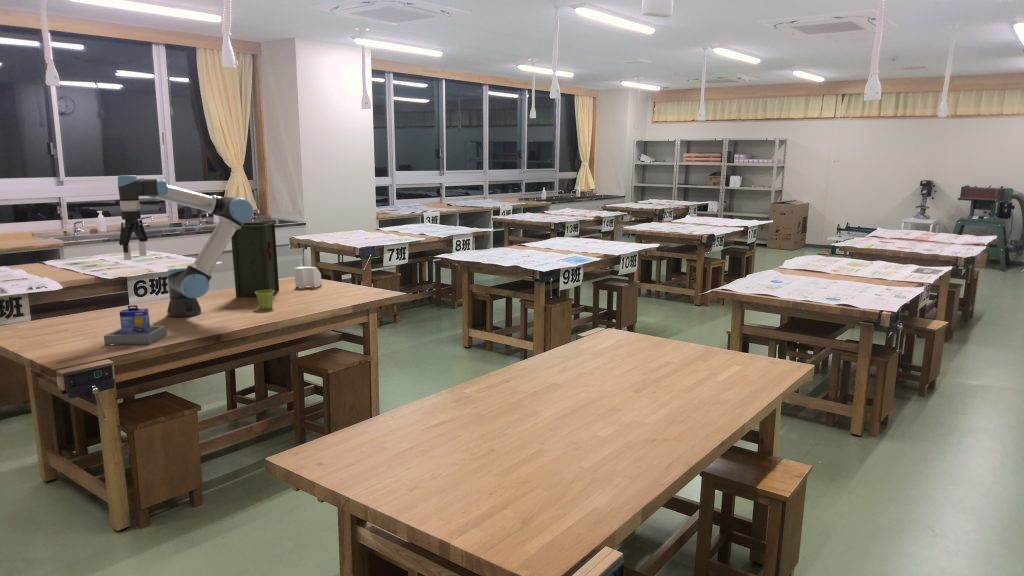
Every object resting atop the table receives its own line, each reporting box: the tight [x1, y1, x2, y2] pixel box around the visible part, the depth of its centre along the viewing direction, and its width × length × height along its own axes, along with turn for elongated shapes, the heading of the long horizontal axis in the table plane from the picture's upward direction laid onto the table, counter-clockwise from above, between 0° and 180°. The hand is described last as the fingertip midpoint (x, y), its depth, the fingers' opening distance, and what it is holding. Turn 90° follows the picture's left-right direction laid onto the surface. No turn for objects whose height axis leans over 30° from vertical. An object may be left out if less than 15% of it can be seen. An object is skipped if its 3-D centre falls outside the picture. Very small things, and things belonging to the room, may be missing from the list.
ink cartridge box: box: [119, 304, 151, 335], centre depth 281 cm, size 10×6×14 cm, turn 104°
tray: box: [103, 325, 168, 346], centre depth 283 cm, size 16×18×4 cm
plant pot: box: [255, 290, 275, 310], centre depth 344 cm, size 9×9×9 cm
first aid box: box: [230, 222, 280, 298], centre depth 377 cm, size 18×18×40 cm
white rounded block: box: [293, 266, 322, 288], centre depth 403 cm, size 11×11×12 cm
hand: (135, 257), depth 300 cm, fingers open, 13 cm apart
